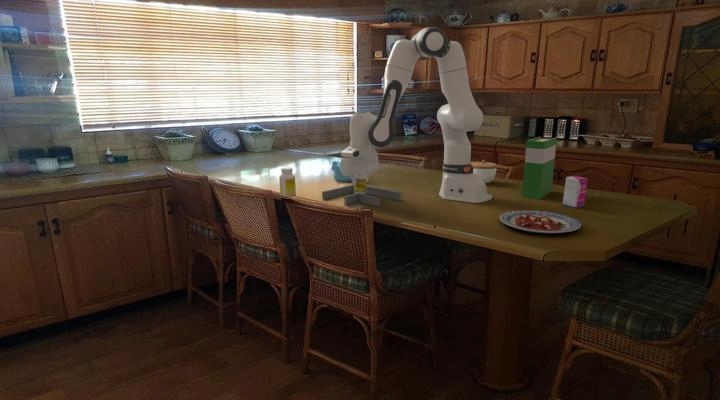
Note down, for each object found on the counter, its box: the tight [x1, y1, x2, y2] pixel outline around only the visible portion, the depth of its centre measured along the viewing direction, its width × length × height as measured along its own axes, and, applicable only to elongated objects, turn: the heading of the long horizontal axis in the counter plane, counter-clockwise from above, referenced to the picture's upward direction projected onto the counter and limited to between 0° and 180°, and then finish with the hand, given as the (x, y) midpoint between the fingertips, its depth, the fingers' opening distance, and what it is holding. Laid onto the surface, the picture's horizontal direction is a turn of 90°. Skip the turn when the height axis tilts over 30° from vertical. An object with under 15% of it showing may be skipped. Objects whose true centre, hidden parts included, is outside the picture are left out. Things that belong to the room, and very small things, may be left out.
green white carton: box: [521, 136, 557, 200], centre depth 203 cm, size 18×7×24 cm, turn 144°
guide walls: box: [321, 184, 402, 208], centre depth 197 cm, size 25×21×4 cm
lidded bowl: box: [470, 159, 498, 184], centre depth 229 cm, size 13×13×11 cm
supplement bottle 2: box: [354, 171, 368, 194], centre depth 201 cm, size 5×5×10 cm
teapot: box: [330, 160, 352, 183], centre depth 238 cm, size 15×15×11 cm
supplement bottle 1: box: [278, 167, 297, 197], centre depth 200 cm, size 7×7×13 cm
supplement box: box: [562, 175, 589, 209], centre depth 185 cm, size 6×6×12 cm
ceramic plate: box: [499, 209, 582, 234], centre depth 161 cm, size 26×26×3 cm
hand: (360, 183), depth 201 cm, fingers closed on supplement bottle 2, 5 cm apart
